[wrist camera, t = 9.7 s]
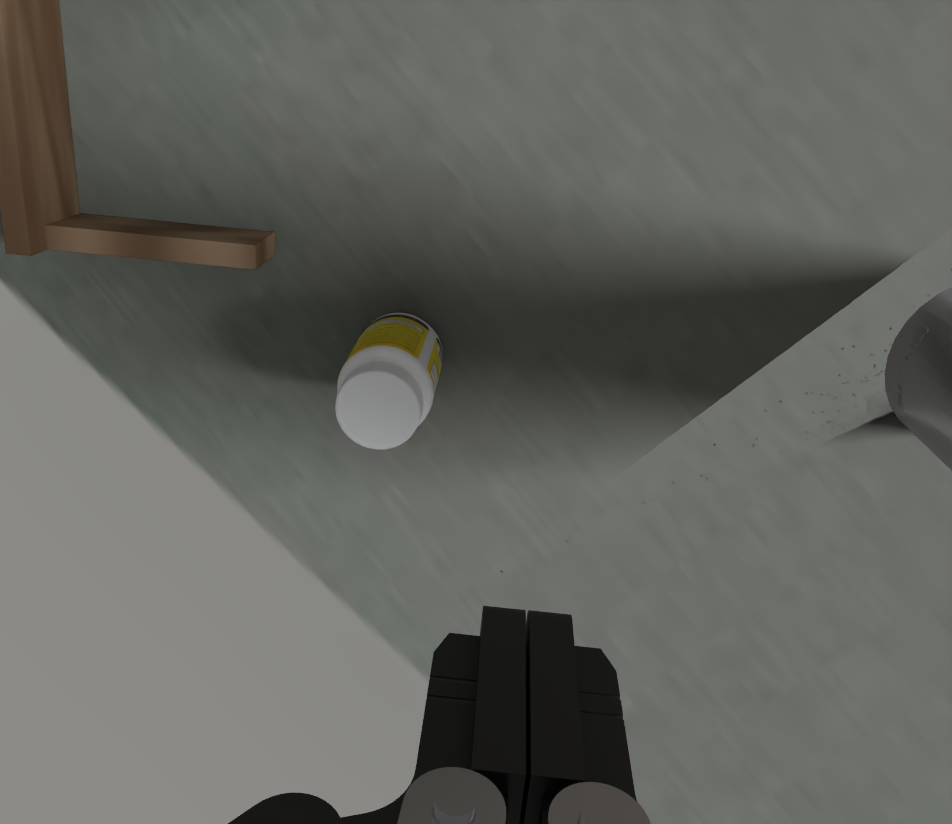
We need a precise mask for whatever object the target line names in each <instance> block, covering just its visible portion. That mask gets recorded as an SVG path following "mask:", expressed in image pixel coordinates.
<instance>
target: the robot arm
mask: <svg viewBox="0 0 952 824" xmlns="http://www.w3.org/2000/svg"><path fill="white" fill-rule="evenodd" d="M885 387H886V393H887V396H888V400H889V403H890V406H891V408H892V409H893V411H894V413H895V414H896V416H897V417H898V419H899V420H900V421H901V422H902V423H903V424H904V425H905V426H906V427H907V428H908V429H909V430H910V431H911V432H912V433H913V434H914V435H915V436H917V437H918V438H919V439H920V440H921V441H922V442H923V443H924V444H925V445H926V446H927V447H928V448H929V449H930V450H931V451H932V452H933V453H934V454H935V455H936V456H937V457H938V458H939V459H940V460H941V461H942V462H943V463H944V464H945V465H946V466H947V467H949V468H950V469H951V470H952V288H950V289H948V290H946V291H944V292H942V293H940V294H938V295H936V296H935V297H934V298H932V299H931V300H929V301H928V302H927V303H925V304H924V305H923V306H921V307H920V308H919V309H918V310H917V311H916V312H915V313H914V314H913V315H912V316H911V317H910V319H909V320H908V321H907V322H906V323H905V325H904V326H903V328H902V329H901V331H900V332H899V334H898V335H897V337H896V338H895V340H894V343H893V345H892V348H891V350H890V352H889V355H888V359H887V364H886V370H885ZM228 824H651V823H650V820H649V818H648V816H647V814H646V812H645V811H644V809H643V808H642V807H641V806H640V804H639V803H638V802H637V800H636V796H635V791H634V785H633V778H632V771H631V765H630V758H629V752H628V745H627V739H626V732H625V726H624V720H623V712H622V706H621V700H620V693H619V686H618V680H617V673H616V670H615V669H614V667H613V666H612V664H611V663H610V662H609V660H608V659H607V657H606V656H605V654H604V653H603V652H602V650H601V649H599V648H589V647H580V646H574V636H573V624H572V616H571V615H568V614H559V613H549V612H539V611H530V610H529V611H528V614H527V620H526V613H525V610H519V609H509V608H500V607H490V606H483V612H482V621H481V630H480V636H473V635H464V634H454V633H449V634H448V635H447V637H446V638H445V639H444V640H443V641H442V643H441V644H440V645H439V646H438V648H437V649H436V650H435V651H434V654H433V661H432V667H431V674H430V680H429V687H428V693H427V700H426V706H425V713H424V719H423V725H422V732H421V738H420V745H419V751H418V758H417V765H416V770H415V774H414V778H413V780H412V782H411V784H410V785H409V787H408V788H407V790H406V791H405V792H404V793H403V794H402V795H401V796H400V797H399V798H398V799H396V800H395V801H394V802H392V803H391V804H389V805H387V806H385V807H383V808H381V809H378V810H376V811H372V812H368V813H364V814H359V815H353V816H348V817H342V818H340V816H339V815H338V813H337V812H336V810H335V809H334V808H333V807H332V806H331V805H330V804H329V803H327V802H326V801H324V800H322V799H320V798H318V797H316V796H313V795H310V794H304V793H285V794H280V795H276V796H273V797H270V798H268V799H265V800H263V801H261V802H260V803H258V804H256V805H255V806H253V807H252V808H250V809H249V810H247V811H246V812H244V813H243V814H241V815H240V816H239V817H237V818H236V819H234V820H233V821H231V822H230V823H228Z"/></svg>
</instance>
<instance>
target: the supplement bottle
mask: <svg viewBox="0 0 952 824" xmlns="http://www.w3.org/2000/svg"><path fill="white" fill-rule="evenodd" d="M442 362H443V350H442V345H441V342H440V339H439V337H438V336H437V334H436V332H435V331H434V330H433V329H432V328H431V327H430V326H429V325H428V324H427V323H426V322H425V321H423V320H422V319H420V318H418V317H416V316H414V315H411V314H407V313H390V314H386V315H383V316H381V317H379V318H377V319H375V320H374V321H372V322H371V323H370V324H369V325H368V326H367V327H366V328H365V329H364V331H363V332H362V333H361V335H360V337H359V339H358V341H357V343H356V344H355V346H354V348H353V350H352V351H351V353H350V355H349V357H348V358H347V360H346V362H345V364H344V365H343V367H342V369H341V371H340V374H339V377H338V383H337V398H336V403H335V412H336V417H337V420H338V423H339V425H340V427H341V429H342V430H343V431H344V433H345V434H346V435H347V436H348V437H349V438H350V439H351V440H353V441H354V442H356V443H357V444H359V445H361V446H364V447H367V448H371V449H379V450H383V449H390V448H393V447H396V446H398V445H400V444H402V443H404V442H405V441H407V440H408V439H409V438H410V437H411V436H412V434H413V433H414V432H415V430H416V428H417V427H418V426H419V425H420V424H421V423H422V422H423V421H424V419H425V418H426V417H427V415H428V413H429V411H430V409H431V407H432V404H433V399H434V395H435V391H436V387H437V383H438V379H439V375H440V371H441V367H442Z"/></svg>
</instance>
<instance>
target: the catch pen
mask: <svg viewBox="0 0 952 824" xmlns="http://www.w3.org/2000/svg"><path fill="white" fill-rule="evenodd" d="M0 212H1V220H2V227H3V234H4V242H5V249H6V253H7V254H18V255H28V256H32V255H34V254H37V253H39V252H42V251H45V250H47V249H48V250H59V251H69V252H79V253H90V254H100V255H110V256H120V257H131V258H141V259H151V260H162V261H172V262H182V263H192V264H203V265H213V266H223V267H234V268H244V269H254V270H256V269H257V268H258V267H260V266H261V265H262V264H264V263H265V262H266V261H268V260H269V259H270V258H272V257H273V256H274V255H275V232H268V231H257V230H247V229H237V228H226V227H216V226H206V225H195V224H185V223H175V222H164V221H154V220H144V219H133V218H123V217H113V216H102V215H92V214H81V213H80V211H79V201H78V191H77V181H76V171H75V160H74V150H73V140H72V130H71V120H70V110H69V99H68V89H67V79H66V69H65V59H64V49H63V38H62V28H61V18H60V8H59V0H0Z"/></svg>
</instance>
